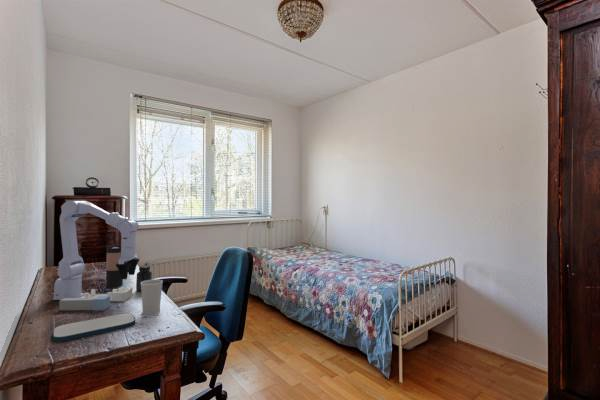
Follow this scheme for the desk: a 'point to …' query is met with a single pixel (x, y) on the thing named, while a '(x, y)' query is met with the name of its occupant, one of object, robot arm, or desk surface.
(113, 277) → the travel mug
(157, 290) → the cup
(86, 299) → the blue-capped grey bar
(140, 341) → the desk surface
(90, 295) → the slider rail
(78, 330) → the white teal rounded slab
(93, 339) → the desk surface
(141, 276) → the supplement bottle
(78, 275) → the robot arm
